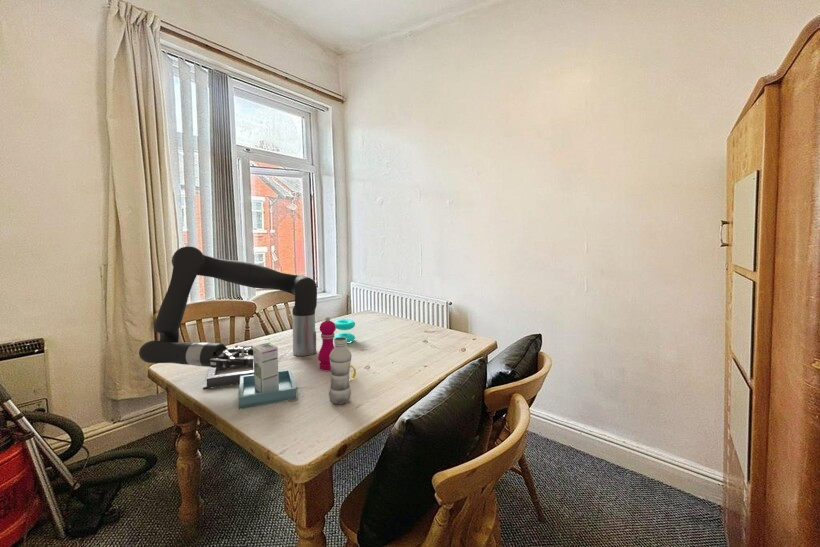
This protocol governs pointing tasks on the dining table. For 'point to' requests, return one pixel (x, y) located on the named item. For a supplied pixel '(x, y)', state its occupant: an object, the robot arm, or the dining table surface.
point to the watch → (354, 371)
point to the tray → (254, 398)
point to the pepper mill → (326, 343)
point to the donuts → (345, 325)
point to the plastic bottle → (340, 372)
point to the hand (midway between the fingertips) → (254, 357)
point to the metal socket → (226, 376)
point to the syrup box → (266, 367)
